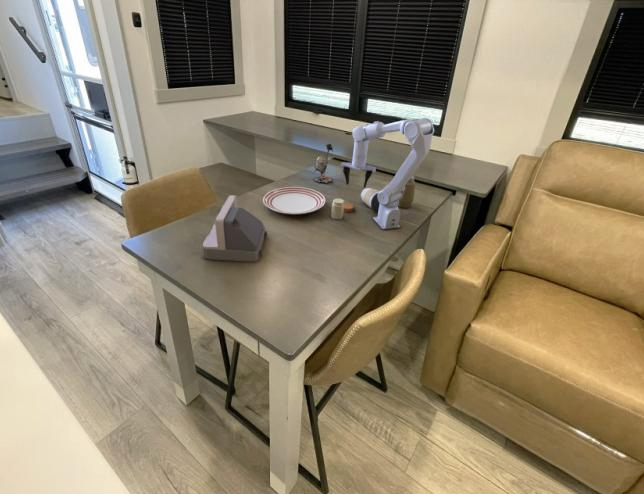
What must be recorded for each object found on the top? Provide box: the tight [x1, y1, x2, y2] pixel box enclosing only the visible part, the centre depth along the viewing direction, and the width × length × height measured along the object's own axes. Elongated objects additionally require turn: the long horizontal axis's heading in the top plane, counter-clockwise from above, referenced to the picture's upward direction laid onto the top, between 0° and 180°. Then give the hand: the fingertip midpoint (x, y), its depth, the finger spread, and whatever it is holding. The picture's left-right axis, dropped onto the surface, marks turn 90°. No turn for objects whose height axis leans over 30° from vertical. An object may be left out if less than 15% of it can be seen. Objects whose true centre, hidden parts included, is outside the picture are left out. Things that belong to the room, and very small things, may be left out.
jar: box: [330, 198, 345, 220], centre depth 138 cm, size 5×5×7 cm
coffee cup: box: [360, 187, 380, 213], centre depth 145 cm, size 9×9×15 cm
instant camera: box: [202, 195, 268, 263], centre depth 113 cm, size 21×21×15 cm
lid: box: [344, 202, 354, 213], centre depth 146 cm, size 6×6×2 cm
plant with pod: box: [312, 142, 334, 184], centre depth 169 cm, size 8×11×20 cm
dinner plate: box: [262, 186, 326, 216], centre depth 146 cm, size 27×27×3 cm
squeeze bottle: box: [398, 174, 416, 209], centre depth 149 cm, size 8×8×18 cm
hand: (356, 185), depth 144 cm, fingers open, 7 cm apart
